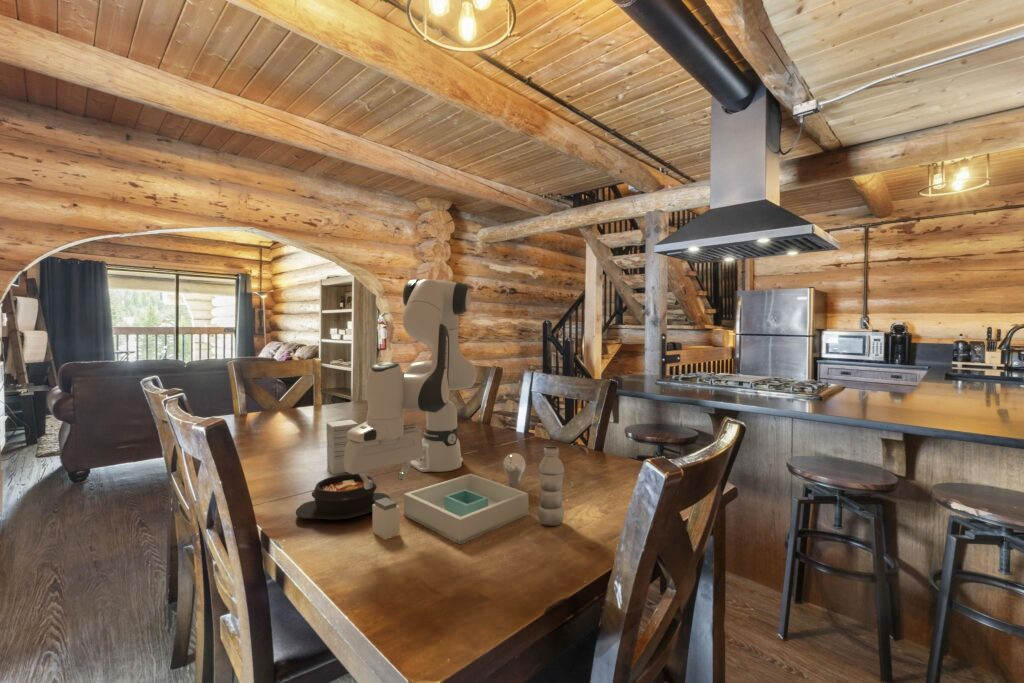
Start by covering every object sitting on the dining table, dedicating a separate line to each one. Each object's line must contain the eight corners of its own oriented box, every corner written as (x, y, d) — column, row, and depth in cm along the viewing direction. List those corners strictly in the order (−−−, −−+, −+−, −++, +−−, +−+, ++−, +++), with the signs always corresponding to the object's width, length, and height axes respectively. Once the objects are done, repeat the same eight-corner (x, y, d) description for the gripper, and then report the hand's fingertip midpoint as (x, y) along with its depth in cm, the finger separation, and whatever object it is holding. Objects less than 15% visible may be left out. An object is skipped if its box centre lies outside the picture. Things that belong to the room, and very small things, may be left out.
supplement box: (359, 470, 165) (359, 423, 164) (333, 474, 160) (332, 426, 159) (352, 463, 173) (351, 419, 172) (326, 467, 167) (325, 421, 167)
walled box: (404, 515, 125) (403, 493, 125) (471, 492, 143) (471, 473, 142) (459, 544, 109) (459, 519, 108) (528, 514, 126) (528, 493, 126)
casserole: (292, 533, 115) (291, 500, 115) (298, 505, 132) (298, 477, 132) (394, 518, 124) (394, 487, 123) (388, 494, 141) (387, 467, 141)
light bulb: (523, 496, 139) (523, 457, 139) (500, 494, 141) (500, 456, 140) (527, 488, 146) (527, 451, 146) (505, 486, 148) (505, 449, 147)
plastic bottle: (536, 519, 123) (536, 445, 122) (561, 518, 124) (561, 444, 123) (539, 529, 117) (539, 451, 116) (566, 528, 117) (566, 450, 117)
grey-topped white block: (372, 532, 116) (372, 500, 115) (386, 527, 118) (386, 496, 118) (385, 539, 111) (384, 507, 111) (399, 534, 114) (399, 502, 114)
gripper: (413, 420, 123) (414, 471, 124) (340, 432, 109) (341, 490, 109) (427, 423, 119) (428, 476, 119) (353, 436, 104) (353, 497, 105)
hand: (385, 483), depth 114 cm, fingers open, 8 cm apart
